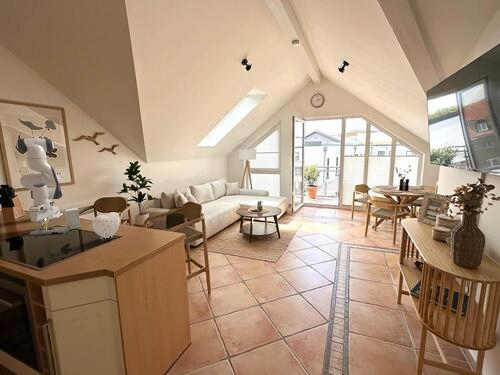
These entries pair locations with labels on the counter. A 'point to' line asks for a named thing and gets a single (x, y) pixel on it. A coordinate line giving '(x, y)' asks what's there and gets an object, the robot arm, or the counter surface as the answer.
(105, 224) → the decorative heart
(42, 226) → the pin
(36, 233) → the bar with square hole
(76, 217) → the skincare box
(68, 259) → the counter surface
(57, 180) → the robot arm
